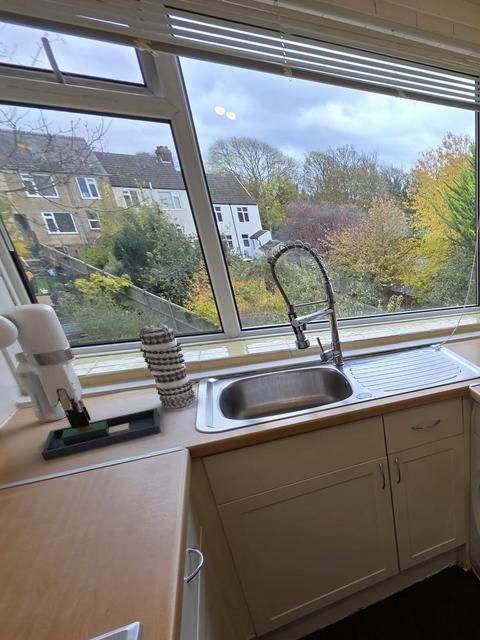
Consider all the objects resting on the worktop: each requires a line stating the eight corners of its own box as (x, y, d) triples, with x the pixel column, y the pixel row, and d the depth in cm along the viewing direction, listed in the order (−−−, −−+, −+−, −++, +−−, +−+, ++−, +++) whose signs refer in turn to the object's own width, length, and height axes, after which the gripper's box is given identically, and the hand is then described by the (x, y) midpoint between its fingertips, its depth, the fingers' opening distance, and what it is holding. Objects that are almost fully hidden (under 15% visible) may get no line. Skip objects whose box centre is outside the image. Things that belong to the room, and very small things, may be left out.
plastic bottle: (37, 427, 112) (2, 359, 104) (41, 418, 117) (9, 352, 109) (70, 420, 116) (39, 354, 108) (73, 412, 121) (43, 348, 113)
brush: (65, 446, 101) (48, 412, 98) (67, 438, 105) (52, 405, 101) (108, 436, 106) (94, 403, 102) (109, 429, 110) (96, 397, 106)
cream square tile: (109, 437, 107) (108, 433, 106) (110, 431, 110) (108, 427, 109) (129, 432, 109) (128, 428, 109) (130, 426, 112) (128, 422, 111)
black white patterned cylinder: (197, 406, 125) (172, 328, 115) (159, 413, 120) (129, 332, 111) (199, 396, 132) (176, 321, 122) (163, 402, 128) (135, 324, 118)
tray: (45, 462, 97) (41, 453, 96) (54, 439, 106) (49, 430, 105) (161, 434, 110) (158, 425, 109) (159, 415, 119) (156, 407, 118)
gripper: (33, 351, 100) (65, 417, 107) (20, 370, 89) (56, 442, 96) (76, 345, 105) (103, 409, 112) (69, 362, 93) (100, 432, 101)
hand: (81, 423), depth 104 cm, fingers closed on brush, 2 cm apart
